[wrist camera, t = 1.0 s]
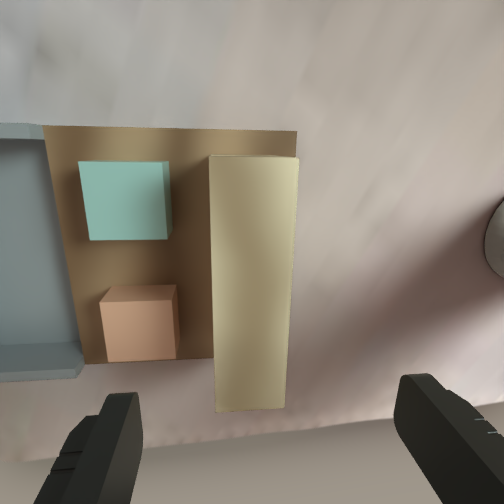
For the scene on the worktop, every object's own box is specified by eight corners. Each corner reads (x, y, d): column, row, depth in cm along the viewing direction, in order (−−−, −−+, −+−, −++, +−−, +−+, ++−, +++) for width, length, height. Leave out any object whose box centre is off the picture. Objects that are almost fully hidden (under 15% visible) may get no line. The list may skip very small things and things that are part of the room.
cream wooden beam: (273, 155, 21) (299, 157, 14) (266, 339, 25) (284, 407, 18) (211, 154, 20) (208, 156, 14) (216, 341, 24) (215, 412, 18)
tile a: (168, 160, 20) (162, 162, 18) (173, 229, 21) (167, 239, 19) (94, 160, 20) (78, 161, 17) (104, 230, 21) (89, 240, 19)
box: (61, 127, 21) (27, 123, 17) (96, 345, 26) (76, 377, 23) (-73, 124, 20) (-140, 119, 16) (-9, 349, 25) (-48, 384, 22)
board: (288, 133, 23) (296, 131, 20) (278, 336, 28) (284, 354, 26) (61, 127, 21) (42, 125, 19) (96, 345, 26) (84, 364, 24)
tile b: (176, 284, 23) (171, 300, 20) (180, 338, 24) (175, 358, 22) (112, 286, 22) (99, 302, 20) (119, 340, 24) (108, 362, 21)
